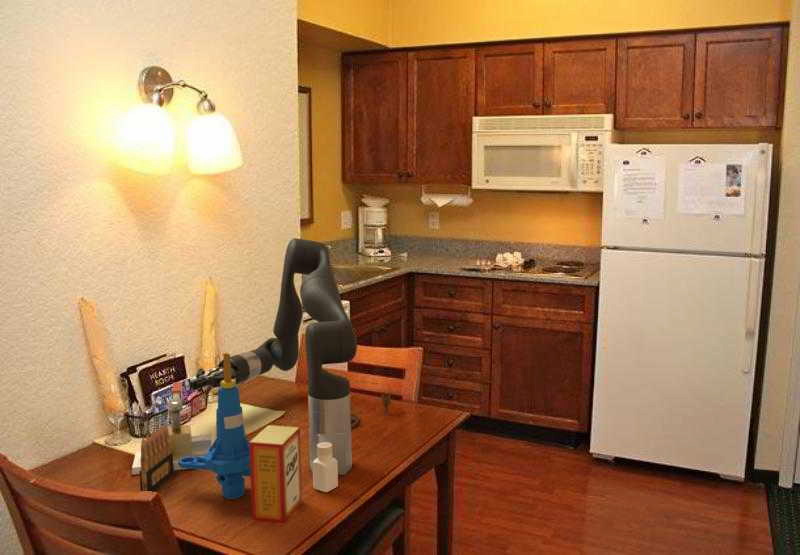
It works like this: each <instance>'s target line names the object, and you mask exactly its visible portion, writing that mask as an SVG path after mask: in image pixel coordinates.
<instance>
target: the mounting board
mask: <svg viewBox="0 0 800 555" xmlns="http://www.w3.org/2000/svg"><path fill="white" fill-rule="evenodd" d="M134 454H135V455H134V459H133V463H132V467H131V473H132V475H140V470H141V460H140V459H141V451H136V452H135V453H134ZM196 457H204V456H196ZM178 461H179V460H174V461H173V466H174V471H178V470H179V471H181V470H189V468H181V467H179V466H178ZM186 463H187V462H186Z"/></svg>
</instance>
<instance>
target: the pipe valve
mask: <svg viewBox="0 0 800 555" xmlns="http://www.w3.org/2000/svg"><path fill="white" fill-rule="evenodd" d="M170 421H171V425H170V426H167V427H168V431H169V439H170V445H171V452H172V453H173V461H174V460H179V459H181V458H183V457H189V456H193V457H196V456H204V455H205V454H207V452H208V451H209V450H210V448H211V446H212V445H213V443H212V434H211V433H210V434H200V435H199V434H198V435H192V427H191V424H184V425H182V422H181V421H182V420H181V410H178V411H170ZM145 442H146V440H145Z"/></svg>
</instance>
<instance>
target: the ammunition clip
mask: <svg viewBox="0 0 800 555" xmlns="http://www.w3.org/2000/svg"><path fill="white" fill-rule="evenodd" d="M168 427H169V426H168V425H167V422H164V424H163V426H162V425H160V426H159V429H158V428H156V429H155V431H151V432H150V433H151V434H150V435H149V434H147V435H146V437H145V438H144V437H143V438H142V439H141V443H140V452H141V459H140V460H141V470H140V474H139V489H140V492H141V491H153V492H155V491H156V490H157V489H158V488H159V487H160V486H162V485H163V484H165V482H167V481H168V480H169V479H170V478H171V477H172V476H174V475H175V470H174V466H173V453H172V452H171V445H170V439H169V431H168ZM145 441H146V442H145ZM154 490H155V491H154Z"/></svg>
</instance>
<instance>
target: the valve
mask: <svg viewBox="0 0 800 555" xmlns="http://www.w3.org/2000/svg"><path fill="white" fill-rule="evenodd" d="M222 355H223V359H222V360H223V363H224V380H223V381H221V382H220V383H221V386H220V387H218V389H217V390H218V392H217V408H216V409H215V414H216V415H215V417H216V418H215V420H216V427H215V428H216V430H215V431H216V433H215V434H216V436H215V437H216V438H215V440H214V442H213V443H212V446H211V448H210V450H209V451H208V452H207V454H205V455H204V457H193V456H189V457H183V458H181V459H179V461H178V466H179V467H181V468H189V469H191V470H202V471H204V470H208V471H210V472H212V473H214V474H217V475H216V476H215V479H216V481H217V483H218V485H221V492H222V497H224V498H226V499H228V500H233V499H239V498H240V497H242V496H244V494H245V489H246V487H245V486H246V485H245V481H246V480H245V477H250V478H251V471H250V449H249V442H250V441H248V439H247V437H246V434H245V423H244V413H243V407H242V406H241V399H240V392H239V391H240V390H239V385H236V380H233V379H231V362H230V357H231V354H230V353H228V352H224V353H223V354H222ZM186 462H187V463H186ZM189 469H188V470H189Z"/></svg>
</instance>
